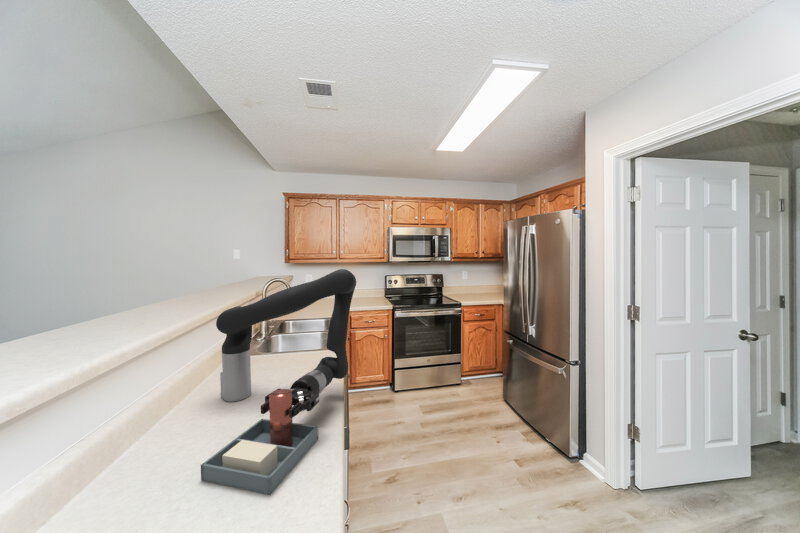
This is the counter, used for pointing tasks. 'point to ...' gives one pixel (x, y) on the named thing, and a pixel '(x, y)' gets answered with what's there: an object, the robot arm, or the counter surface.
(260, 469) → the cream block
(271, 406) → the copper cylinder
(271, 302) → the robot arm
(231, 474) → the tray
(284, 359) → the counter surface
